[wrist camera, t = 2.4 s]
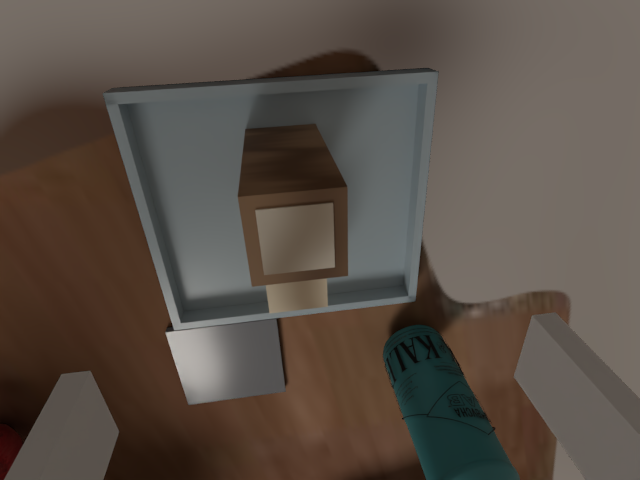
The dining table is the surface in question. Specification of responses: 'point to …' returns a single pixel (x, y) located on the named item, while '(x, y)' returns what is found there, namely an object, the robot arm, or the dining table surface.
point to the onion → (8, 448)
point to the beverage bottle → (442, 410)
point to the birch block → (297, 295)
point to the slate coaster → (228, 360)
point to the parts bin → (224, 174)
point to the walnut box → (292, 206)
